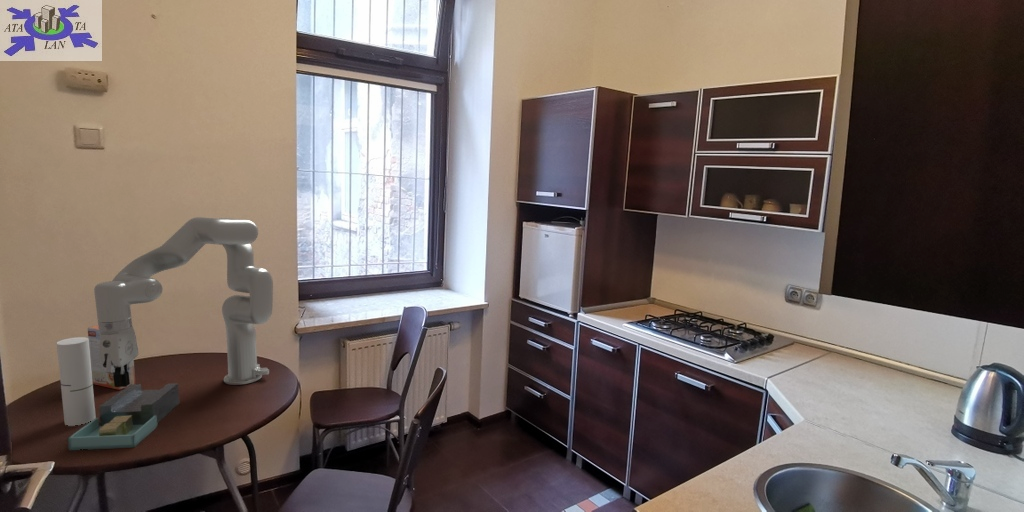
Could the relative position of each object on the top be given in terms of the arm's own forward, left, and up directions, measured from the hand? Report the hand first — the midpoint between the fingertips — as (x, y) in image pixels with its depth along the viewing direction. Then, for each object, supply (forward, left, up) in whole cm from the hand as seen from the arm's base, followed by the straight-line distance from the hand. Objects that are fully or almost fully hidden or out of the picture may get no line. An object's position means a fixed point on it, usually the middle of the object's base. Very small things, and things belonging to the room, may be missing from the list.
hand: (122, 385), depth 147 cm
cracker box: (+22, -35, -14) cm, 44 cm away
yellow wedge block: (-1, +5, -11) cm, 12 cm away
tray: (0, +5, -14) cm, 14 cm away
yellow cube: (0, +7, -9) cm, 11 cm away
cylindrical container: (+16, -7, -14) cm, 23 cm away
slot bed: (0, -9, -14) cm, 17 cm away
